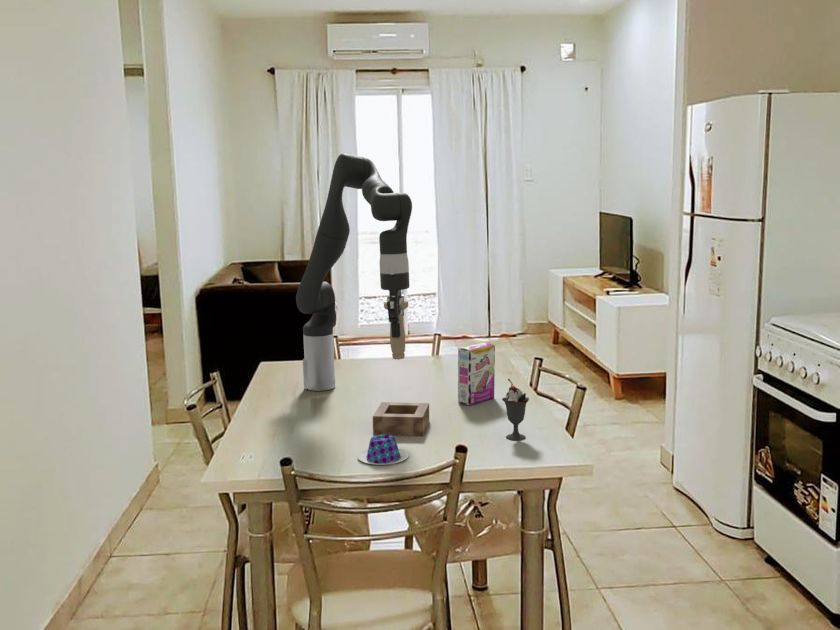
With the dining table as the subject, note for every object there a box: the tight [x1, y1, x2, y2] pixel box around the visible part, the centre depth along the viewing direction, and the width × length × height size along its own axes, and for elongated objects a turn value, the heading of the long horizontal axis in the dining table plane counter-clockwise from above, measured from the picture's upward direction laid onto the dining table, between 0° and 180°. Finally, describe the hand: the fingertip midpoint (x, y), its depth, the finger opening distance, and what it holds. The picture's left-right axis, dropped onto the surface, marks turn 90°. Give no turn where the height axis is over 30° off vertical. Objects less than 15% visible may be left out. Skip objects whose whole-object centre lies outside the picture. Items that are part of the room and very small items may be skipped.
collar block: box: [372, 401, 430, 437], centre depth 222 cm, size 13×13×5 cm
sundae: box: [501, 378, 530, 442], centre depth 212 cm, size 7×7×15 cm
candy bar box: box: [457, 342, 496, 406], centre depth 245 cm, size 11×5×16 cm, turn 135°
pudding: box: [357, 434, 409, 466], centre depth 200 cm, size 12×12×5 cm
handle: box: [383, 300, 409, 360], centre depth 221 cm, size 5×6×15 cm
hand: (397, 335), depth 222 cm, fingers closed on handle, 4 cm apart
